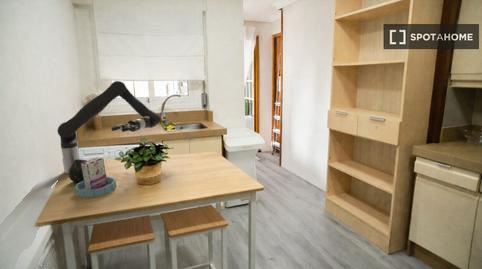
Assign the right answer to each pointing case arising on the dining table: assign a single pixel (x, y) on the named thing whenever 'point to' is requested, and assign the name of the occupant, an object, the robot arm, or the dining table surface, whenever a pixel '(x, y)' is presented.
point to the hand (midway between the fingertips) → (117, 129)
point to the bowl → (104, 190)
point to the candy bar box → (94, 173)
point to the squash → (76, 171)
